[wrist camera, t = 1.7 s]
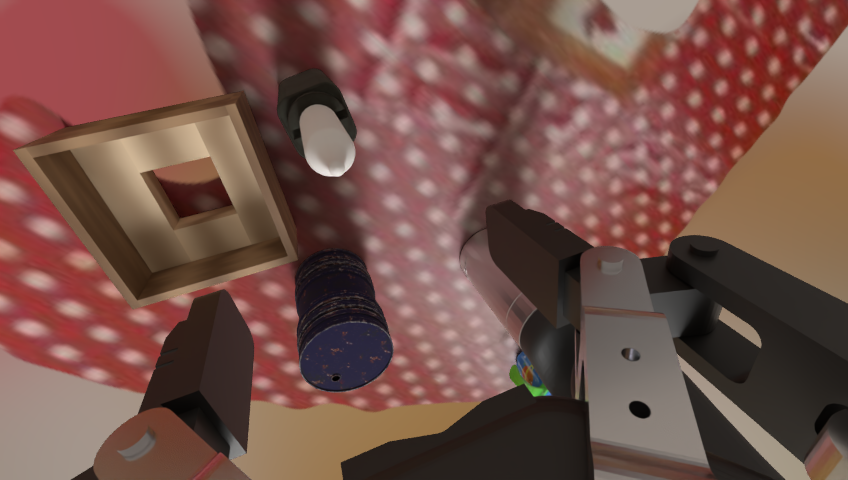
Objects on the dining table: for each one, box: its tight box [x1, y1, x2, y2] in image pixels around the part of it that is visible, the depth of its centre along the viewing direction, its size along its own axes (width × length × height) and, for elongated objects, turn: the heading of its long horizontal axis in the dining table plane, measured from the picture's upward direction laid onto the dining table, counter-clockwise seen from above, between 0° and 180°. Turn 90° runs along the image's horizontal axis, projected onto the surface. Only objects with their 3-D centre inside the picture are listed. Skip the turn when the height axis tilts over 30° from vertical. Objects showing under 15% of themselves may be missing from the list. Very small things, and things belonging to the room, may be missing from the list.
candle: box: [277, 69, 357, 177], centre depth 29 cm, size 5×5×25 cm
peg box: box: [13, 91, 298, 309], centre depth 37 cm, size 16×16×8 cm
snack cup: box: [509, 351, 551, 396], centre depth 69 cm, size 16×10×10 cm
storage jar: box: [295, 249, 393, 392], centre depth 45 cm, size 10×10×15 cm
